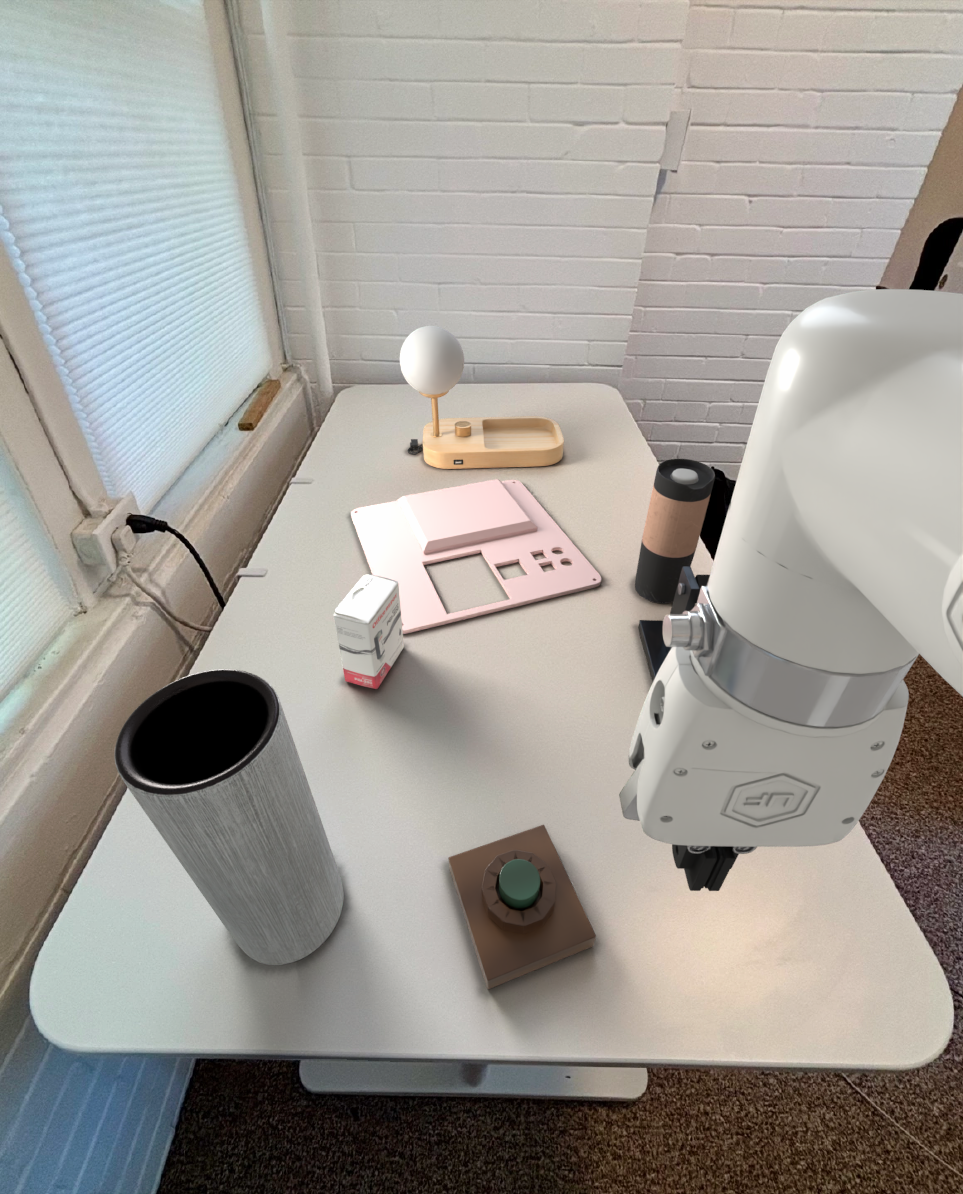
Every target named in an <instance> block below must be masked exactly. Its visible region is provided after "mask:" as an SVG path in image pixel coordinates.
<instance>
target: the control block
mask: <svg viewBox="0 0 963 1194" xmlns="http://www.w3.org/2000/svg"><path fill="white" fill-rule="evenodd" d="M515 859H523V860H526V861H528V862H530V863H532V864H533V865H534V866H535V867H536V869H537V870H538V872H539V875H540V889H539V895H538V897H537V899H536V901H535V902H534V903H533V904H532V905H531V906H529V907H526V908H522V909H519V908H514V907H511V906H509V905H508V904H507V903H506V902H505V901H504V900H503V899H502V897H501V895H500V892H499V875H500V872H501V870H502V868H503V866H504V865H505V864H506V863H508V862H509V861H512V860H515ZM448 869H449V872H450V875H451V879H452V882H453V885H454V889H455V891H456V894H457V897H458V901H459V904H460V907H461V910H462V914H463V916H464V920H465V924H466V926H467V929H468V933H469V936H470V939H471V942H472V946H473V948H474V951H475V955H476V958H477V961H478V965H479V967H480V971H481V974H482V977H483V980H484V983H485V986H486V989H487V990H491V989H493V988H495V987H498V986H500V985H502V984H505V983H508V982H509V981H512V980H515V979H517V978H519V977H522V976H525V975H526V974H530V973H532V972H535V971H536V970H539V969H541V968H544V967H546V966H549V965H551V964H553V963H556V962H559V961H561V960H564V959H566V958H568V957H570V956H573V955H576V954H578V953H580V952H583V951H585V950H587V949H590V948H593V947H594V945H595V941H596V938H597V935H596V933H595V931H594V929H593V927H592V924H591V922H590V919H589V918H588V916H587V914H586V911H585V909H584V907H583V905H582V903H581V901H580V898H579V896H578V895H577V892H576V890H575V888H574V885H573V884H572V881H571V879H570V876H569V874H568V873H567V871H566V868H565V867H564V864H563V862H562V859H561V858H560V856H559V853H558V851H557V849H556V847H555V844H554V842H553V841H552V838H551V836H550V834H549V832H548V830H547V828H546V826H545V824H541V825H538V826H535V827H532V828H529V829H527V830H523V831H521V832H518V833H515V834H513V835H508V836H507V837H503V838H501V839H497V840H494V841H491V842H489V843H486V844H483V845H480V846H477V847H474V848H471V849H469V850H466V851H463V852H460V853H457V854H453V855H452V856H451V855H450V856H449V857H448Z"/></svg>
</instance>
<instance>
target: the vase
mask: <svg viewBox="0 0 963 1194" xmlns="http://www.w3.org/2000/svg"><path fill="white" fill-rule="evenodd" d="M113 756H114V765H115V768H116V770H117V771H116V772H117V773H118V775H119V777H120V778H121V780H122V781H123V783H124V784H125V786H126V787H127V788H128V790H129V792H130V793H131V794H132V796H133V798H134V799H135V800H136V802H137V803H138V805H139V806H140V807H141V809H142V811H144V813H145V815H146V816H147V817H148V819H149V820H150V822H151V823H152V825H153V826H154V827H155V829H156V831H158V833H159V835H160V836H161V837H162V839H163V840H164V842H165V843H166V845H167V846H168V847H169V849H170V850H171V852H172V853H173V855H174V856H175V857H176V859H177V861H178V862H179V863H180V864H181V866H182V868H183V870H185V872H186V873H187V875H188V876H189V877H190V879H191V880H192V881H193V883H194V884H195V886H196V887H197V889H198V891H200V894H201V895H202V896H203V898H204V899H205V900H206V902H207V903H208V905H209V906H210V907H211V909H212V911H213V912H214V913H215V914H216V917H218V919H219V921H220V922H221V923H222V925H223V926H224V927H225V929H226V930H227V932H228V933H229V934H230V936H231V937H232V939H233V941H234V942H235V943H236V945H237V946H238V947H239V948H240V949H241V950H242V952H244V954H245V955H247V956H248V957H249V958H250V959H252V960H253V961H255V962H258V963H260V964H263V965H267V966H268V965H269V966H283V965H288V964H293V963H295V962H297V961H300V960H302V959H304V958H305V957H308V956H309V955H311V954H312V953H314V952H315V951H316V950H317V949H319V948H320V947H321V946H322V944H324V943H325V941H326V940H327V939H328V938H329V937H330V935H331V934H332V933H333V931H334V929H335V927H336V926H337V924H338V922H339V919H340V917H341V914H342V910H343V905H344V894H345V893H344V886H343V882H342V881H343V880H342V877H341V874H340V871H339V868H338V865H337V861H336V859H335V856H334V853H333V851H332V848H331V845H330V842H329V839H328V836H327V833H326V830H325V828H324V824H323V822H322V818H321V816H320V813H319V809H318V807H317V804H316V801H315V798H314V796H313V793H312V790H311V787H310V784H309V781H308V778H307V775H306V772H305V769H304V766H303V764H302V760H301V757H300V754H299V752H298V750H297V746H296V744H295V741H294V738H293V734H292V731H291V729H290V725H289V723H288V720H287V717H286V713H285V712H284V709H283V705H282V702H281V700H280V697H279V696H278V693H277V692H276V689H274V687H273V686H272V685H271V684H270V683H269V682H268V681H267V680H265V679H264V678H262V677H261V676H259V675H257V674H254V673H252V672H249V671H246V670H241V669H234V668H219V669H216V668H215V669H209V670H203V671H199V672H196V673H192V674H189V675H186V676H184V677H181V678H178V679H177V680H174V681H172V682H170V683H168V684H167V685H165V686H163V687H161V688H160V689H158V690H156V691H155V692H154V693H152V694H150V696H148V697H147V698H146V699H144V701H142V702H141V703H140V704H139V705H138V706H137V707H136V708H135V709H134V710H133V712H132V713H131V714H130V715H129V716H128V718H127V719H126V721H125V722H124V723H123V725H122V726H121V729H120V731H119V733H118V735H117V739H116V742H115V746H114V755H113Z"/></svg>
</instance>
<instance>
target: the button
mask: <svg viewBox="0 0 963 1194" xmlns="http://www.w3.org/2000/svg"><path fill="white" fill-rule="evenodd" d="M539 889H540V875H539V872H538V870H537V869H536V867H535V866H534V865H533V864H532V863H530V862H528V861H526V860H523V859H515V860H512V861H509V862H508V863H506V864H505V865H504V866H503V868H502V870H501V872H500V875H499V892H500V895H501V897H502V899H503V900H504V901H505V902H506V903H507V904H508V905H509V906H511V907H514V908H519V909H522V908H526V907H529V906H531V905H532V904H533V903H534V902H535V901H536V899H537V897H538V895H539Z"/></svg>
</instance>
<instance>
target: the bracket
mask: <svg viewBox="0 0 963 1194" xmlns="http://www.w3.org/2000/svg"><path fill="white" fill-rule="evenodd" d="M695 577H696V575H695V574H694V572H693V569H692V566H691V567H685V566H683V567H682V571H681V574H680V578H679V582H678V586H677V589H676V593H675V597H674V601H673V602H672V605H671V609H670V613H669V614H683V612H684V611H691V610H692V609H693V608H694V607H695V606H696V604H695V603H696V600H697V597H698V593H699V590H700V588H699V586H698V584H697V581H696V579H695ZM663 620H664V619H662V620H660V619H659V620H658V619H641V620H639V621H638V626H637V630H638V633H639V636H640V640H641V644H642V645H641V646H642V648H643V652H644V656H645V661H646V664H647V667H648V672H649V675H650V678H651V682H652V683H653V681H654V679H655V677H656V675H657V673H658V671H659V669H660V667H661V665H662V664H663V662H664V660H665V658H666V657H667V655H668V653H669V651H670V650H671V648H672V647H666V645H665V643H664V640H663Z"/></svg>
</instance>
